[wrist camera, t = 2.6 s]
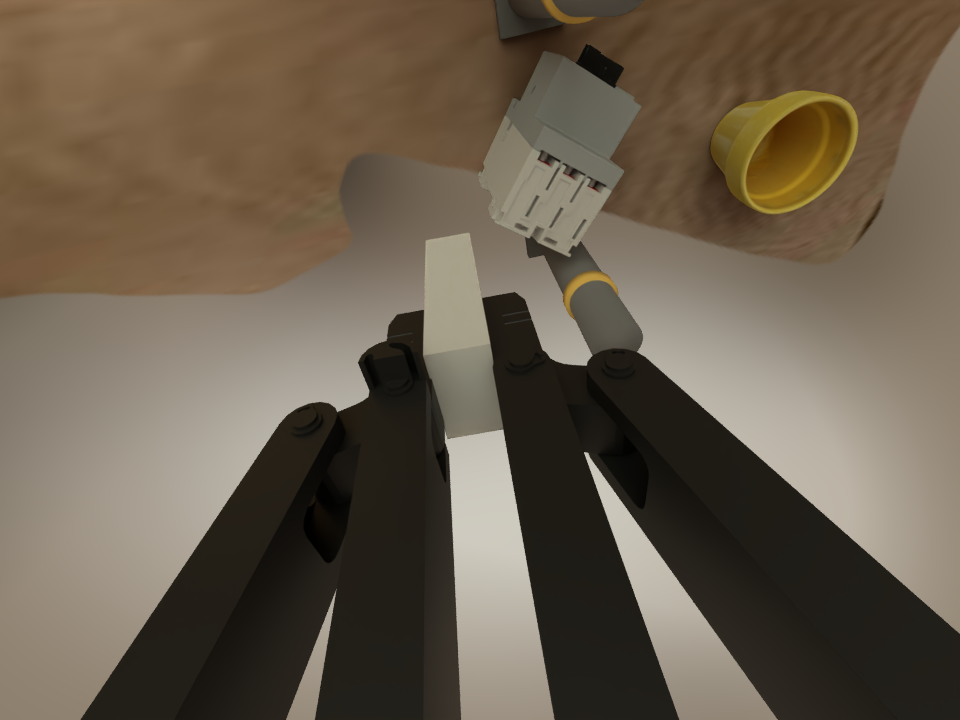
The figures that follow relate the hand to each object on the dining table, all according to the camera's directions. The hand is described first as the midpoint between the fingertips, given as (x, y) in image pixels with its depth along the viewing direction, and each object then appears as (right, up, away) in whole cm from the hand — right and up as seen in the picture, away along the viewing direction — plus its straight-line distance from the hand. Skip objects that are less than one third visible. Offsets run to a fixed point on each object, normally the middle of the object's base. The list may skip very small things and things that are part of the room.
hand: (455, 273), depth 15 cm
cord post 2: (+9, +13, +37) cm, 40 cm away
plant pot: (+29, +21, +33) cm, 49 cm away
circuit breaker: (+7, +21, +30) cm, 38 cm away
